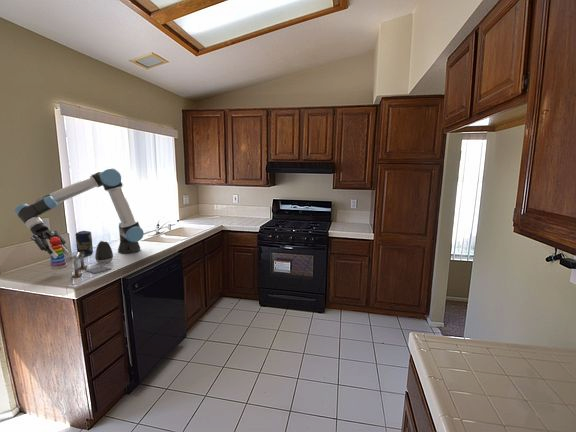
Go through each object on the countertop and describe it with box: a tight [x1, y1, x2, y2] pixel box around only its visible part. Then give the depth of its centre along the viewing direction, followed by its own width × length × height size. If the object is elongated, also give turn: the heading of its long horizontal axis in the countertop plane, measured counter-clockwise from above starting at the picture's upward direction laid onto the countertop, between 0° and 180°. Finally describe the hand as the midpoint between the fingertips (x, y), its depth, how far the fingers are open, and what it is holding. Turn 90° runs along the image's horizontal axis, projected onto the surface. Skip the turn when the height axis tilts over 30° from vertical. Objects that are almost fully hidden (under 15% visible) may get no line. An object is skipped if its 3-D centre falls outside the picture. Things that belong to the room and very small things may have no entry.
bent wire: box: [71, 251, 88, 279], centre depth 177 cm, size 4×18×13 cm, turn 24°
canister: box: [75, 230, 94, 257], centre depth 212 cm, size 10×10×18 cm
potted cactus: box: [95, 240, 114, 265], centre depth 196 cm, size 10×10×15 cm
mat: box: [84, 265, 112, 275], centre depth 182 cm, size 10×10×1 cm
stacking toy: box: [48, 237, 68, 271], centre depth 172 cm, size 8×8×19 cm
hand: (62, 255), depth 171 cm, fingers closed on stacking toy, 6 cm apart
